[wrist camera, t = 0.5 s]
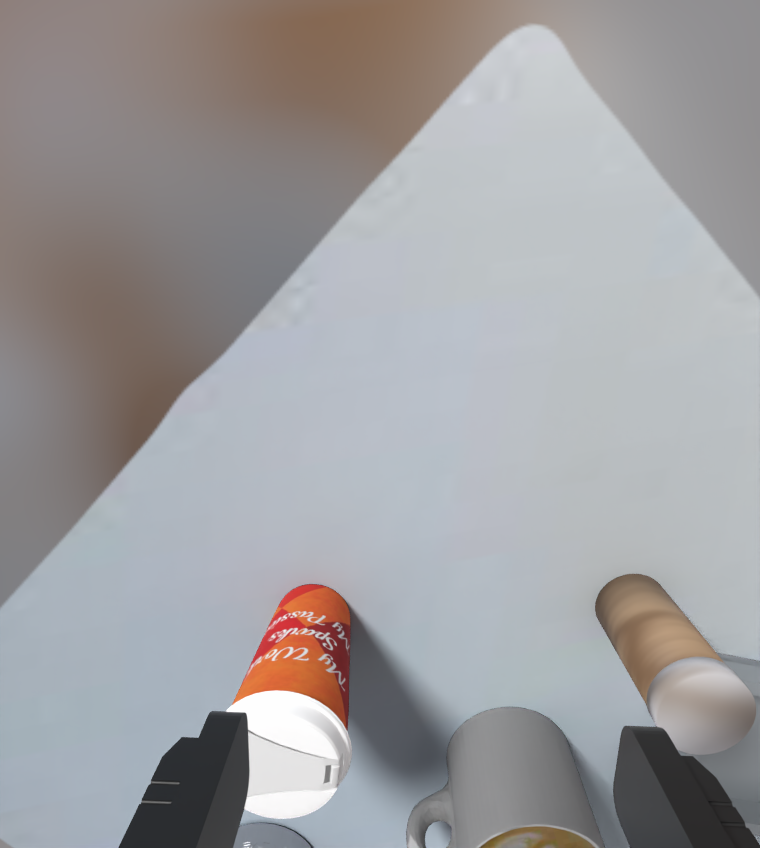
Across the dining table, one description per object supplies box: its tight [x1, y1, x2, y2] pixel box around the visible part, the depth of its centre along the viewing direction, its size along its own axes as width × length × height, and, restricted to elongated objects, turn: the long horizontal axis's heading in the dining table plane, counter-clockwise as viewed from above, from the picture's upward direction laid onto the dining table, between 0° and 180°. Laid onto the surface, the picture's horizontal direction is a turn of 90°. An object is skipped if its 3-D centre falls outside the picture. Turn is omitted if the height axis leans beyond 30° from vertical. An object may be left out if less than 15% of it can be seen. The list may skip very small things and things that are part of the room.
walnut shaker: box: [595, 574, 756, 755], centre depth 38 cm, size 5×5×11 cm
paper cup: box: [226, 584, 352, 819], centre depth 37 cm, size 8×8×14 cm
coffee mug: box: [406, 707, 605, 848], centre depth 42 cm, size 13×10×10 cm
